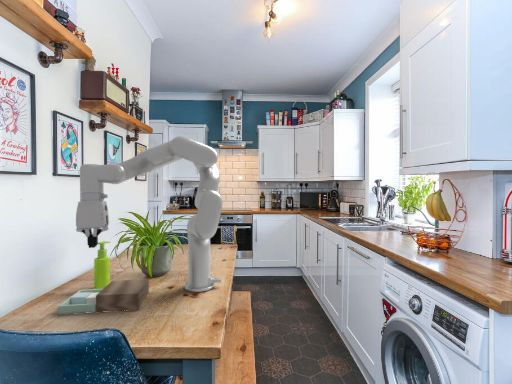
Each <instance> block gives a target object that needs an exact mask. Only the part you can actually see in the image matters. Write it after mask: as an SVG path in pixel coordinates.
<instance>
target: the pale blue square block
mask: <svg viewBox="0 0 512 384" xmlns="http://www.w3.org/2000/svg"><path fill="white" fill-rule="evenodd" d="M91 293H92V292H83V293H77V294H75V293H74V294H75V295H74V294H73V295H74V296H72V295H71V296H72V297H71V296H70V297H71V305H75V304H86V298H87V297H88V296H89V295H90V294H91Z"/></svg>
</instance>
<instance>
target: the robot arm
mask: <svg viewBox="0 0 512 384" xmlns="http://www.w3.org/2000/svg"><path fill="white" fill-rule="evenodd" d="M218 158H219V157H218V153H217V151H216V150H215V149H214V148H213V147H211V146H210V145H209V146H208V145H206V144H204V143H202V142H198V141H196V140H193V139H191V138H189V137H185V136H180V135H179V136H176V137H173V138H172V139H171V140H168V141H167V142H163V143H161V144H159V145H156V146H153V147H151V148H147V149H145V150H144V151H142V152H139V154H136V155H134V156H133V157H132V158H129V159H127V160H123V161H121V162H119V163H109V164H96V163H95V164H94V163H85V164H82V165H80V167H79V201H78V202H77V206H76V213H75V227H76V229H75V230H76V232H78V233H82V234H84V235H85V237H86V240H87V244H86V245H87V246H88V248H89V249H90V248H92V249H94V248H97V245H99V244H98V243H99V237H98V236H99V235H100V234H102V232H106V231H109V224H110V218H109V217H110V216H109V208H108V204H107V201H106V200H105V199H107V198H108V194H105V192H104V184H110V185H119V184H121V183H123V182H125V181H126V182H127V181H128V180H131V179H133V178H135V177H138V176H141V175H144V174H147V173H150V172H153V171H155V170H158V169H160V168H162V167H165V166H167V165H168V166H169V164H172V163H174V162H177V161H179V160H182V159H184V160H187V161H189V162H192V163H193V165H194V167H195V168H196V169H197V170H198V173H199V182H198V186H197V190H196V194H195V198H194V206H195V207H196V209H197V212H196V213H197V214H194V215H192V216H191V217H190V218H189V219H188V221H187V225H186V232H187V243H188V244H187V247H188V248H187V250H188V252H187V255H188V257H187V258H188V259H187V260H188V261H187V262H188V263H187V264H188V265H187V266H188V267H187V268H188V269H187V271H188V272H187V274H188V275H187V276H188V277H187V279H188V281H187V283H185V284H184V289H185V290H186V291H188V292H193V293H198V292H199V293H201V292H207V291H209V290H212V289H213V288H214V287H215V284H220V283H222V278H220V277H218V276H217V277H213V276H212V272H211V270H212V269H211V265H212V264H211V263H212V262H211V238H213V237H214V236H215V234H216V233H217V230H218V226H219V221H220V219H221V213H222V208H223V198H222V196H221V195H220V193H219V192H218V189H219V183H220V172H219V169H218V167H217V165H216V164H217V162H218V161H219V160H218ZM92 229H93V230H92Z"/></svg>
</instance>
